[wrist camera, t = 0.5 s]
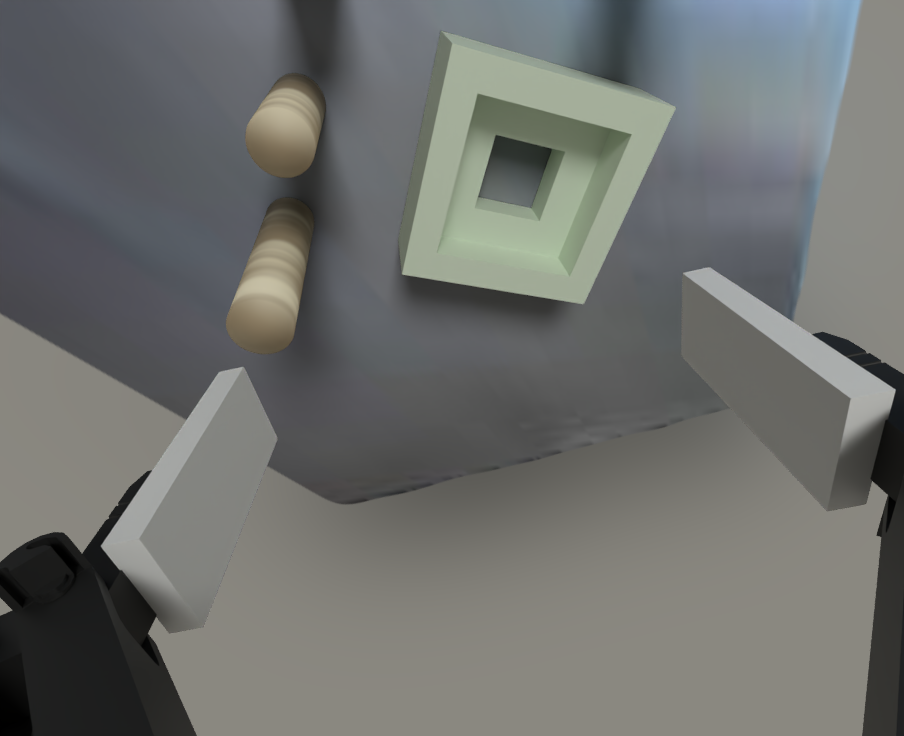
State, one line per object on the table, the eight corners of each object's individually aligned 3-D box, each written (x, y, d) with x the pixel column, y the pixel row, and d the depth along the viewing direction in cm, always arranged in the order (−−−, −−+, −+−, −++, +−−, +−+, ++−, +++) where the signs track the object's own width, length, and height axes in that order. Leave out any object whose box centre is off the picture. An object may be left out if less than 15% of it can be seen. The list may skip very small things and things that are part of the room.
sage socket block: (440, 30, 32) (452, 43, 28) (638, 88, 35) (676, 107, 31) (398, 239, 40) (402, 274, 36) (562, 269, 44) (583, 304, 39)
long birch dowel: (266, 193, 36) (225, 295, 26) (316, 202, 37) (296, 305, 27) (265, 237, 38) (226, 350, 28) (312, 245, 39) (292, 357, 29)
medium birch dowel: (271, 66, 32) (246, 99, 25) (328, 81, 33) (318, 116, 26) (269, 124, 34) (245, 170, 27) (322, 136, 35) (312, 183, 28)
